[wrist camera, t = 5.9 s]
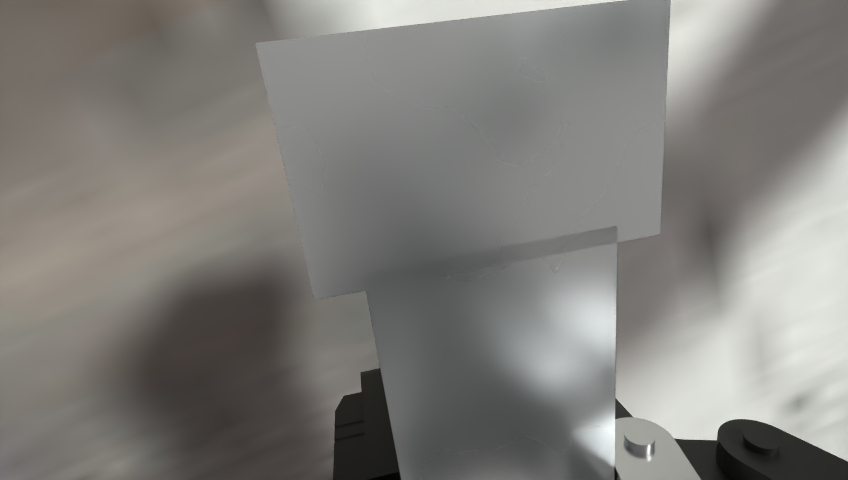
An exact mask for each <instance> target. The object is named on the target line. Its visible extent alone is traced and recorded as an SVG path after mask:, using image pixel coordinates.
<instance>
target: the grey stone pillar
mask: <svg viewBox="0 0 848 480" xmlns="http://www.w3.org/2000/svg"><path fill="white" fill-rule="evenodd" d="M670 1H671V0H626V1H617V2H608V3H599V4H591V5H582V6H573V7H565V8H556V9H547V10H539V11H530V12H521V13H513V14H504V15H495V16H486V17H478V18H469V19H460V20H452V21H443V22H434V23H426V24H417V25H408V26H400V27H391V28H382V29H373V30H365V31H356V32H347V33H339V34H330V35H321V36H313V37H304V38H295V39H287V40H278V41H269V42H260V43H255V44H256V48H257V53H258V57H259V61H260V66H261V70H262V74H263V79H264V83H265V87H266V92H267V96H268V100H269V105H270V109H271V113H272V118H273V122H274V126H275V131H276V135H277V139H278V144H279V148H280V153H281V157H282V161H283V166H284V170H285V174H286V179H287V183H288V187H289V192H290V196H291V200H292V205H293V209H294V213H295V218H296V222H297V226H298V231H299V235H300V239H301V244H302V248H303V252H304V257H305V261H306V265H307V270H308V274H309V278H310V283H311V287H312V291H313V296H314V300H319V299H324V298H329V297H334V296H340V295H345V294H350V293H355V292H361V291H366V295H367V300H368V305H369V311H370V316H371V321H372V327H373V332H374V337H375V343H376V348H377V353H378V359H379V364H380V369H381V375H382V380H383V385H384V391H385V396H386V401H387V406H388V412H389V417H390V422H391V428H392V433H393V438H394V444H395V449H396V454H397V460H398V465H399V470H400V476H401V480H614V464H615V384H616V303H617V243H618V242H624V241H629V240H634V239H640V238H645V237H650V236H655V235H660V223H661V201H662V179H663V157H664V134H665V112H666V90H667V68H668V45H669V23H670Z"/></svg>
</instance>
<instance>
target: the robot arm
mask: <svg viewBox="0 0 848 480" xmlns="http://www.w3.org/2000/svg"><path fill="white" fill-rule="evenodd" d="M361 388H362V392H360V393H355V394H350V395H346V396H343V398H342V400H341V402H340V404H339V405H338V407H337V409H336V411H335V437H334V440H335V443H334V469H333V480H401V476H400V470H399V465H398V460H397V454H396V449H395V444H394V438H393V433H392V428H391V422H390V417H389V412H388V406H387V401H386V396H385V391H384V385H383V380H382V375H381V369H380V368H379V369H374V370H369V371H365V372H361ZM614 480H848V462H847V461H845V460H843V459H841V458H839V457H837V456H835V455H833V454H830V453H828V452H826V451H824V450H822V449H820V448H818V447H816V446H814V445H812V444H810V443H807V442H805V441H803V440H801V439H799V438H797V437H795V436H793V435H791V434H789V433H786V432H784V431H782V430H780V429H778V428H776V427H774V426H771V425H768V424H766V423H762V422H758V421H754V420H746V419H737V420H731V421H728V422H725V423H724V424H722V425H721V426H720V428H719V430H718V436H717V441H715V440H683V439H674V438H673V437H672V436H671V434H670V433H669V432H667V431H666V430H665V429H664V428H662V427H661V426H659V425H657V424H655V423H653V422H651V421H648V420H645V419H640V418H634V417H632V415H631V414H630V413H629V412H628V411H627V410H626V409H625V408H624V407H623V406H622V405H621V404H620V403H619V401H618V400H617V399H616V398H615V464H614Z"/></svg>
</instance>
